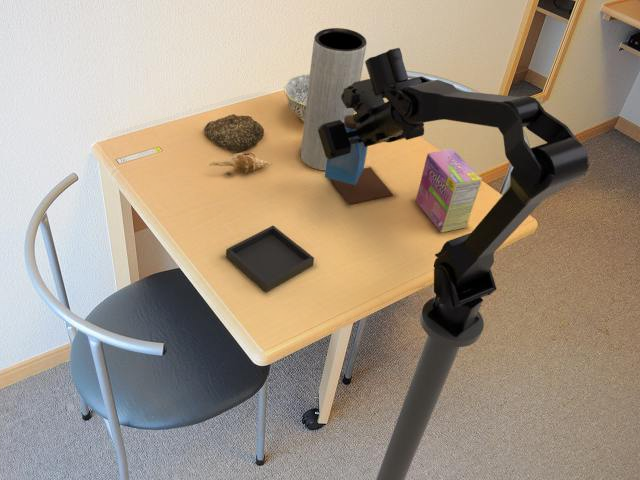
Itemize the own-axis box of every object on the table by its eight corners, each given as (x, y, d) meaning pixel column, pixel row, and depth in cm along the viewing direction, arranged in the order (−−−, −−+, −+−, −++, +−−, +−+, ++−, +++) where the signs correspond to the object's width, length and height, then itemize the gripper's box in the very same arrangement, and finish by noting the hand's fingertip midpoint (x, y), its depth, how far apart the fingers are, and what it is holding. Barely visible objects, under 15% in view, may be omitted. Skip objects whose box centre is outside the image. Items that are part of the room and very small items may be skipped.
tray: (313, 265, 118) (314, 257, 117) (265, 292, 113) (266, 284, 112) (272, 233, 124) (273, 225, 123) (225, 257, 119) (226, 249, 118)
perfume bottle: (363, 168, 132) (373, 115, 124) (355, 184, 128) (364, 130, 120) (334, 161, 134) (341, 108, 126) (324, 177, 129) (331, 123, 121)
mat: (392, 196, 134) (393, 194, 134) (348, 205, 131) (349, 203, 131) (370, 168, 141) (370, 167, 141) (327, 176, 138) (328, 175, 138)
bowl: (272, 104, 159) (275, 76, 154) (334, 97, 162) (338, 69, 157) (294, 140, 148) (297, 110, 143) (359, 132, 151) (364, 103, 146)
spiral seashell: (256, 156, 143) (257, 138, 140) (271, 167, 140) (272, 149, 137) (205, 177, 137) (205, 159, 134) (219, 189, 134) (219, 170, 131)
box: (414, 201, 133) (427, 152, 125) (438, 196, 134) (453, 148, 126) (440, 233, 126) (456, 184, 118) (465, 228, 127) (483, 179, 119)
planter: (292, 150, 145) (305, 31, 126) (331, 141, 148) (350, 24, 129) (313, 175, 138) (330, 54, 120) (354, 165, 141) (377, 46, 123)
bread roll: (230, 158, 142) (231, 138, 138) (196, 132, 149) (196, 113, 145) (275, 138, 148) (276, 119, 145) (240, 115, 155) (241, 96, 151)
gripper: (418, 64, 116) (371, 93, 130) (330, 84, 109) (291, 112, 124) (437, 124, 116) (388, 146, 131) (350, 148, 110) (308, 169, 124)
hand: (344, 142), depth 127 cm, fingers closed on perfume bottle, 9 cm apart
